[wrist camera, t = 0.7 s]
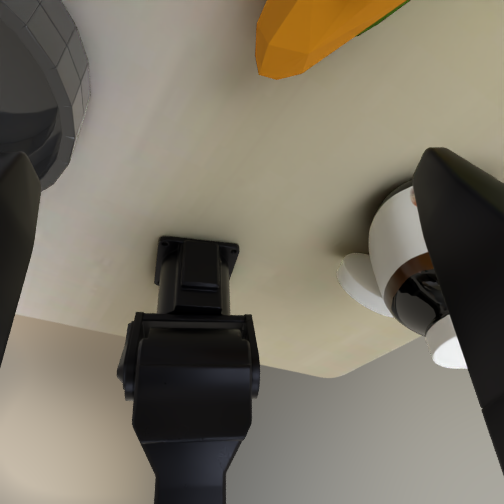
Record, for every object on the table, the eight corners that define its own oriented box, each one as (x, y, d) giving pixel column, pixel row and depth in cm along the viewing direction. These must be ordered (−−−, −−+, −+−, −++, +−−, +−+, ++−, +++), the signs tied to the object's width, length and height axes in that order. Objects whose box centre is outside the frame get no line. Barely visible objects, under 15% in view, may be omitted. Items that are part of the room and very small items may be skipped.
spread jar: (514, 159, 28) (622, 306, 20) (457, 257, 36) (518, 383, 29) (341, 175, 28) (388, 327, 20) (327, 269, 37) (356, 397, 29)
